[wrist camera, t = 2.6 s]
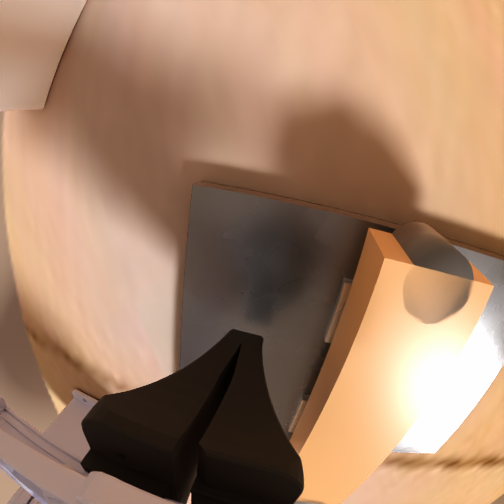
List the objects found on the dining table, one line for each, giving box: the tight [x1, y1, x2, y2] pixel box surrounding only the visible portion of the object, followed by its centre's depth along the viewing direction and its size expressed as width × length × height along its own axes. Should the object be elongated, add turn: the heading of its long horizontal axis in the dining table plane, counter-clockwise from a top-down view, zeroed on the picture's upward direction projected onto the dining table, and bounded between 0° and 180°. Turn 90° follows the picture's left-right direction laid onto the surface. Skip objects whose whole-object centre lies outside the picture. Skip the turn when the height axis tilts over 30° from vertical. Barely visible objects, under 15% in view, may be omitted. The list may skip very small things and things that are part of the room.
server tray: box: [180, 181, 504, 453], centre depth 15 cm, size 18×18×2 cm
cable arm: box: [290, 222, 494, 504], centre depth 12 cm, size 18×4×3 cm, turn 171°
